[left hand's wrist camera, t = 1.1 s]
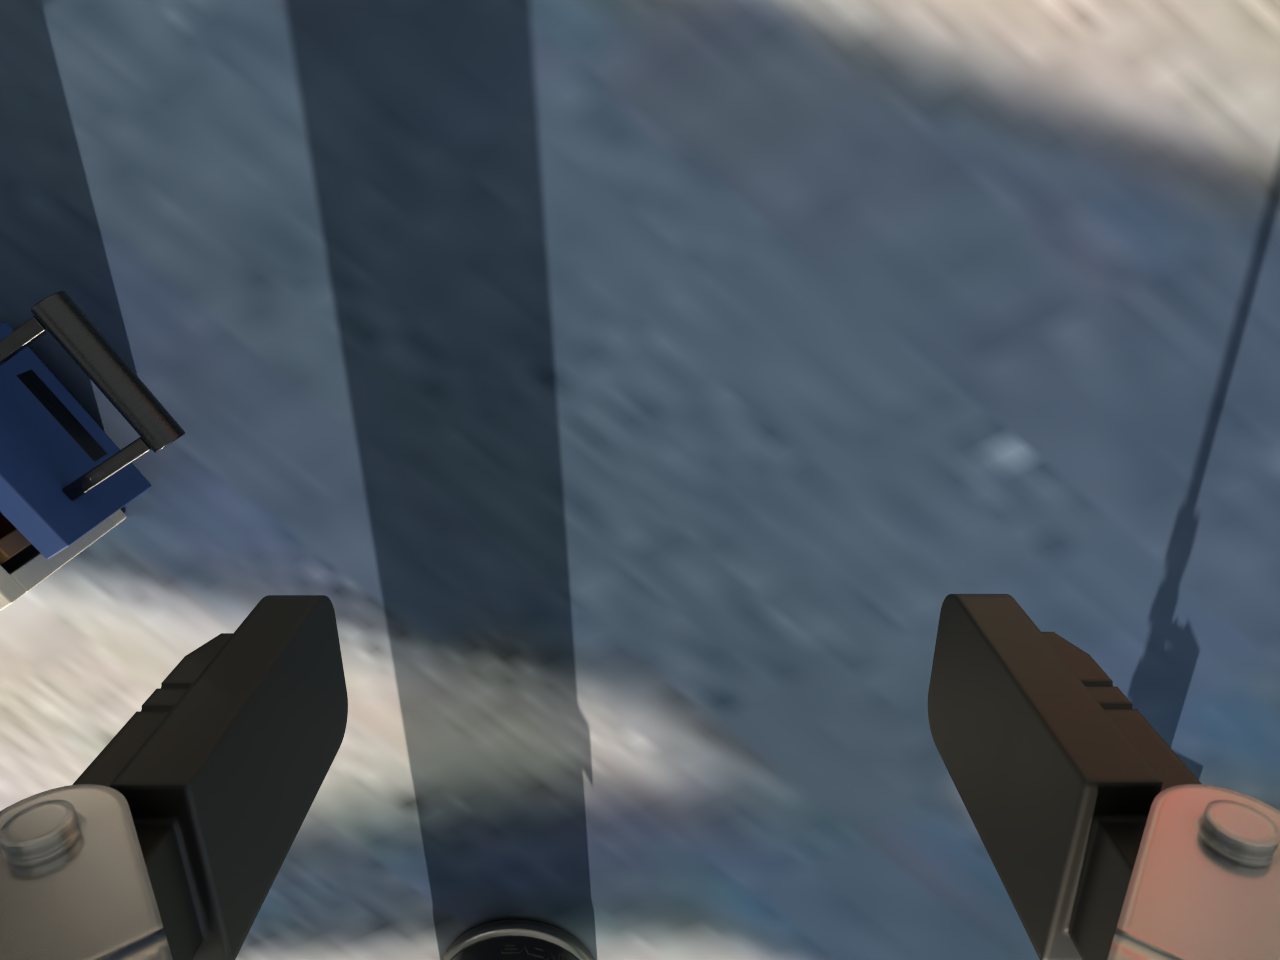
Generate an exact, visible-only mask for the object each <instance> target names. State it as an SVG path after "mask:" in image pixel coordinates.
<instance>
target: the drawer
mask: <svg viewBox="0 0 1280 960" xmlns="http://www.w3.org/2000/svg"><path fill="white" fill-rule="evenodd" d="M31 312H32V313H33V314H34V315H35V316H34V317H32V318H31V319H29V320H28V321H27V322H25V323H24V324H23V325H21V326H20V327H18V328H17V329H16V330H13V329H12V328H11V327H10V326H9V324H8V323H6V322H5V323H1V324H0V565H1V564H2V563H4V562H5V561H7V560H8V559H10V558H11V557H13V556H14V555H16V554H17V553H19V552H20V551H22V550H23V549H25V548H26V547H28V546H29V545H31V544H32V545H33V546H34V547H35V548H36V549H37V550H38V551H39V552H40V553H41V554H42V555H43V556H44V557H45V558H46V559H50V558H51V557H53V556H54V555H56V554H57V553H59V552H61V551H62V550H64V549H65V548H67V547H68V546H70V545H71V544H73V543H74V542H75V541H77V540H78V539H79V538H81V537H82V536H84V535H85V534H86V533H88V532H89V531H90V530H92V529H93V528H95V527H96V526H97V525H99V524H100V523H102V522H103V521H104V520H106V519H107V518H108V517H110V516H111V515H113V514H114V513H115V512H117V511H118V510H120V509H121V508H122V507H124V506H125V505H126V504H128V503H129V502H131V501H132V500H133V499H135V498H136V497H138V496H139V495H140V494H142V493H143V492H144V491H146V490H147V489H149V488H150V487H151V486H152V485H151V484H150V483H149V482H148V481H147V479H146V478H145V477H144V476H143V475H142V474H141V473H140V472H139V470H138V469H137V468H136V467H135V466H134V465H133V464H132V462H133V461H135V460H136V459H138V458H139V457H141V456H142V455H144V454H145V453H147V452H148V451H150V450H151V449H152V450H153V451H154V452H155V453H156V452H158V451H160V450H161V449H163V448H164V447H166V446H167V445H169V444H170V443H172V442H173V441H175V440H176V439H178V438H179V437H181V436H182V435H184V434H185V432H184V430H183V429H182V428H181V427H180V426H179V425H178V423H177V422H176V421H175V420H174V419H173V418H172V416H171V415H170V414H169V413H168V412H167V411H166V409H165V408H164V407H163V406H162V405H161V403H160V402H159V401H158V400H157V399H156V398H155V396H154V395H153V394H152V393H151V392H150V391H149V389H148V388H147V387H146V386H145V385H144V384H143V382H142V381H141V380H140V379H139V378H138V376H137V375H136V374H135V373H134V372H133V371H132V369H131V368H130V367H129V366H128V365H127V364H126V362H125V361H124V360H123V359H122V358H121V357H120V355H119V354H118V353H117V352H116V351H115V350H114V348H113V347H112V346H111V345H110V344H109V342H108V341H107V340H106V339H105V338H104V337H103V335H102V334H101V333H100V332H99V331H98V330H97V328H96V327H95V326H94V325H93V324H92V323H91V321H90V320H89V319H88V318H87V317H86V316H85V314H84V313H83V312H82V311H81V310H80V308H79V307H78V306H77V305H76V304H75V303H74V301H73V300H72V299H71V298H70V297H69V296H68V294H67V293H66V292H65V291H61V292H57V293H55V294H52V295H50V296H48V297H46V298H45V299H43V300H41V301H40V302H38V303H37V304H35V305H34V306H33V307H32V308H31ZM48 331H49V332H50V333H51V334H52V336H53V337H54V338H55V339H56V340H57V341H58V342H59V344H60V345H61V346H62V347H63V348H64V349H65V350H66V352H67V353H68V354H69V355H70V356H71V357H72V358H73V360H74V361H75V362H76V363H77V364H78V365H79V366H80V368H81V369H82V370H83V371H84V372H85V373H86V374H87V376H88V377H89V378H90V379H91V380H92V381H93V382H94V384H95V385H96V386H97V387H98V388H99V389H100V390H101V392H102V393H103V394H104V395H105V396H106V397H107V398H108V400H109V401H110V402H111V403H112V404H113V405H114V406H115V408H116V409H117V410H118V411H119V412H120V413H121V414H122V416H123V417H124V418H125V419H126V420H127V421H128V422H129V424H130V425H131V426H132V427H133V428H134V429H135V430H136V432H137V433H138V434H139V435H140V436H141V437H140V438H138V439H137V440H135V441H134V442H132V443H131V444H129V445H128V446H126V447H125V448H123V449H122V450H120V449H119V448H118V447H117V446H116V445H115V444H114V442H113V441H112V440H111V439H110V438H109V437H108V436H107V435H106V433H105V432H104V431H103V430H102V429H101V428H100V427H99V426H98V424H97V423H96V422H95V421H94V420H93V419H92V418H91V417H90V415H89V414H88V413H87V412H86V411H85V410H84V409H83V408H82V406H81V405H80V404H79V403H78V402H77V401H76V400H75V399H74V397H73V396H72V395H71V394H70V393H69V392H68V391H67V390H66V388H65V387H64V386H63V385H62V384H61V383H60V382H59V381H58V379H57V378H56V377H55V376H54V375H53V374H52V373H51V372H50V370H49V369H48V368H47V367H46V366H45V365H44V364H43V363H42V362H41V360H40V359H39V358H38V357H37V356H36V355H35V354H34V353H33V351H32V350H31V349H30V348H29V347H28V346H29V345H30V344H32V343H33V342H34V341H36V340H37V339H39V338H40V337H41V336H43V335H44V334H46V333H47V332H48Z"/></svg>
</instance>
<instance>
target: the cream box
mask: <svg viewBox="0 0 1280 960" xmlns="http://www.w3.org/2000/svg"><path fill="white" fill-rule="evenodd" d="M126 517H127V516H126V515H125V514H124V513H123V512H122V511H121V509H120V510H118V511H117V512H115V513H114V514H113V515H111V516H110V517H108V518H107V519H106V520H104V521H103V522H102V523H100V524H99V525H97V526H96V527H95V528H93V529H92V530H90V531H89V532H88V533H86V534H85V535H84V536H82V537H81V538H79V539H78V540H77V541H75V542H74V543H73V544H71V545H70V546H68V547H67V548H65V549H64V550H62V551H61V552H59V553H57V554H56V555H54V556H53V557H51V558H50V559H46V558H45V557H44V556H43V555H42V554H41V553H40V552H39V551H38V550H37V549H36V548H35V547H34V546H33V545H32V544H31V545H29V546H28V547H26V548H25V549H23V550H22V551H20V552H19V553H17V554H16V555H14V556H13V557H11V558H10V559H8V560H7V561H5V562H4V563H2V564H1V565H0V611H1V610H2V609H4V608H5V607H7V606H9V605H10V604H12V603H13V602H14V601H16V600H17V599H19V598H20V597H21V596H23V595H24V594H25V593H26V592H28V591H29V590H31V589H32V588H33V587H35V586H36V585H37V584H39V583H40V582H41V581H43V580H44V579H45V578H47V577H48V576H49V575H51V574H52V573H53V572H55V571H56V570H57V569H59V568H60V567H61V566H63V565H64V564H65V563H67V562H68V561H69V560H71V559H72V558H73V557H75V556H76V555H77V554H79V553H80V552H81V551H83V550H84V549H85V548H87V547H88V546H89V545H91V544H92V543H93V542H95V541H96V540H97V539H99V538H100V537H101V536H103V535H104V534H105V533H107V532H108V531H109V530H111V529H112V528H113V527H115V526H116V525H117V524H119V523H120V522H121V521H123V520H124V519H125V518H126Z"/></svg>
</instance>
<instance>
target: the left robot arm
mask: <svg viewBox="0 0 1280 960" xmlns="http://www.w3.org/2000/svg"><path fill="white" fill-rule="evenodd" d="M1112 682H1113V681H1112V680H1111V679H1110V678H1109V677H1108V676H1107V674H1106V673H1105V672H1104V671H1103V670H1102V669H1101V668H1100V666H1099V665H1098V664H1097V663H1096V662H1095V661H1094V660H1093V658H1092V657H1091V656H1090V655H1089V654H1087V653H1086V652H1084V651H1083V650H1081V649H1079V648H1078V647H1076V646H1075V645H1073V644H1072V643H1070V642H1068V641H1067V640H1065V639H1064V638H1062V637H1060V636H1059V635H1057V634H1056V633H1054V632H1041V631H1040V630H1039V629H1038V628H1037V626H1036V625H1035V624H1034V623H1033V621H1032V620H1031V619H1030V618H1029V617H1028V615H1027V614H1026V613H1025V612H1024V610H1023V609H1022V608H1021V607H1020V605H1019V604H1018V603H1017V602H1016V601H1015V599H1014V598H1013V597H1012V596H1010V595H1008V594H950V595H948V596H947V597H946V598H945V600H944V602H943V604H942V608H941V613H940V619H939V626H938V633H937V639H936V646H935V653H934V659H933V666H932V673H931V679H930V686H929V693H928V717H929V724H930V729H931V733H932V737H933V740H934V742H935V745H936V747H937V749H938V751H939V753H940V755H941V757H942V759H943V761H944V763H945V765H946V768H947V770H948V772H949V774H950V776H951V778H952V780H953V782H954V784H955V786H956V788H957V790H958V792H959V794H960V796H961V798H962V800H963V802H964V804H965V807H966V809H967V811H968V813H969V815H970V817H971V819H972V821H973V823H974V825H975V827H976V829H977V831H978V833H979V835H980V837H981V839H982V841H983V844H984V846H985V848H986V850H987V852H988V854H989V856H990V858H991V860H992V862H993V864H994V866H995V868H996V870H997V872H998V874H999V876H1000V878H1001V880H1002V883H1003V885H1004V887H1005V889H1006V891H1007V893H1008V895H1009V897H1010V899H1011V901H1012V903H1013V905H1014V907H1015V909H1016V911H1017V913H1018V915H1019V917H1020V920H1021V922H1022V924H1023V926H1024V928H1025V930H1026V932H1027V934H1028V936H1029V938H1030V940H1031V942H1032V944H1033V946H1034V948H1035V950H1036V952H1037V954H1038V956H1039V959H1040V960H1280V811H1278V810H1276V809H1275V808H1273V807H1271V806H1269V805H1267V804H1265V803H1263V802H1261V801H1259V800H1257V799H1254V798H1252V797H1249V796H1247V795H1244V794H1241V793H1238V792H1235V791H1232V790H1229V789H1224V788H1220V787H1216V786H1209V785H1202V784H1201V783H1200V781H1199V780H1198V779H1197V778H1196V777H1195V776H1194V775H1193V773H1192V772H1191V771H1190V770H1189V769H1188V768H1187V767H1186V765H1185V764H1184V763H1183V762H1182V761H1181V760H1180V758H1179V757H1178V756H1177V755H1176V754H1175V753H1174V752H1173V750H1172V749H1171V748H1170V747H1169V746H1168V745H1167V743H1166V742H1165V741H1164V740H1163V739H1162V738H1161V737H1160V735H1159V734H1158V733H1157V732H1156V731H1155V730H1154V729H1153V727H1152V726H1151V725H1150V724H1149V723H1148V722H1147V720H1146V719H1145V718H1144V717H1143V716H1142V715H1141V714H1140V712H1139V711H1138V710H1133V709H1132V703H1131V702H1130V701H1129V700H1128V699H1127V697H1126V696H1125V695H1124V694H1123V693H1122V692H1121V691H1120V689H1119V688H1118V687H1113V684H1112ZM347 713H348V698H347V690H346V684H345V677H344V671H343V664H342V657H341V651H340V644H339V638H338V631H337V625H336V618H335V612H334V608H333V605H332V603H331V601H330V599H329V598H328V597H327V596H324V595H269V596H266V597H264V598H263V599H262V600H261V601H260V602H259V603H258V604H257V605H256V607H255V608H254V609H253V610H252V612H251V613H250V614H249V615H248V616H247V618H246V619H245V620H244V621H243V623H242V624H241V625H240V626H239V627H238V629H237V630H236V631H235V632H234V634H220V635H218V636H217V637H215V638H214V639H212V640H210V641H209V642H207V643H206V644H204V645H202V646H201V647H199V648H198V649H196V650H195V651H193V652H191V653H190V654H188V655H187V656H185V657H184V658H183V659H182V661H181V662H180V663H179V664H178V665H177V666H176V667H175V669H174V670H173V671H172V672H171V673H170V674H169V675H168V676H167V678H166V679H165V680H164V681H163V682H162V687H161V689H156V690H155V691H154V692H153V694H152V695H151V696H150V697H149V698H148V699H147V700H146V702H145V703H144V704H143V705H142V710H141V712H136V713H135V714H134V715H133V716H132V718H131V719H130V720H129V721H128V722H127V723H126V724H125V726H124V727H123V728H122V729H121V730H120V731H119V732H118V733H117V735H116V736H115V737H114V738H113V739H112V740H111V741H110V743H109V744H108V745H107V746H106V747H105V748H104V749H103V751H102V752H101V753H100V754H99V755H98V756H97V757H96V759H95V760H94V761H93V762H92V763H91V764H90V765H89V767H88V768H87V769H86V770H85V771H84V772H83V773H82V775H81V776H80V777H79V778H78V779H77V780H76V781H75V783H74V784H73V785H71V786H64V787H60V788H56V789H51V790H48V791H45V792H42V793H39V794H36V795H33V796H31V797H28V798H26V799H23V800H21V801H19V802H17V803H15V804H13V805H11V806H9V807H7V808H5V809H4V810H2V811H0V960H235V959H236V957H237V955H238V953H239V951H240V949H241V947H242V945H243V942H244V940H245V938H246V936H247V934H248V932H249V930H250V928H251V926H252V924H253V922H254V920H255V918H256V916H257V914H258V912H259V910H260V908H261V906H262V904H263V902H264V900H265V898H266V896H267V894H268V892H269V890H270V888H271V886H272V884H273V882H274V880H275V878H276V876H277V873H278V871H279V869H280V867H281V865H282V863H283V861H284V859H285V857H286V855H287V853H288V851H289V849H290V847H291V845H292V843H293V841H294V839H295V837H296V835H297V833H298V831H299V829H300V827H301V825H302V823H303V821H304V819H305V817H306V815H307V813H308V811H309V809H310V807H311V805H312V802H313V800H314V798H315V796H316V794H317V792H318V790H319V788H320V786H321V784H322V782H323V780H324V778H325V776H326V774H327V772H328V770H329V768H330V766H331V764H332V762H333V760H334V758H335V756H336V754H337V752H338V750H339V748H340V745H341V743H342V740H343V737H344V733H345V729H346V723H347ZM443 960H593V958H592V956H591V954H590V953H589V951H588V950H587V949H586V948H585V947H584V946H583V944H581V943H580V942H579V941H578V940H577V939H576V938H574V937H573V936H571V935H570V934H568V933H567V932H565V931H563V930H561V929H559V928H556V927H554V926H551V925H548V924H545V923H541V922H536V921H530V920H516V919H513V920H500V921H494V922H490V923H486V924H483V925H480V926H478V927H475V928H473V929H471V930H469V931H467V932H466V933H464V934H463V935H461V936H460V937H459V938H458V939H456V940H455V941H454V942H453V943H452V945H451V946H450V947H449V949H448V950H447V952H446V954H445V956H444V958H443Z"/></svg>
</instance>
